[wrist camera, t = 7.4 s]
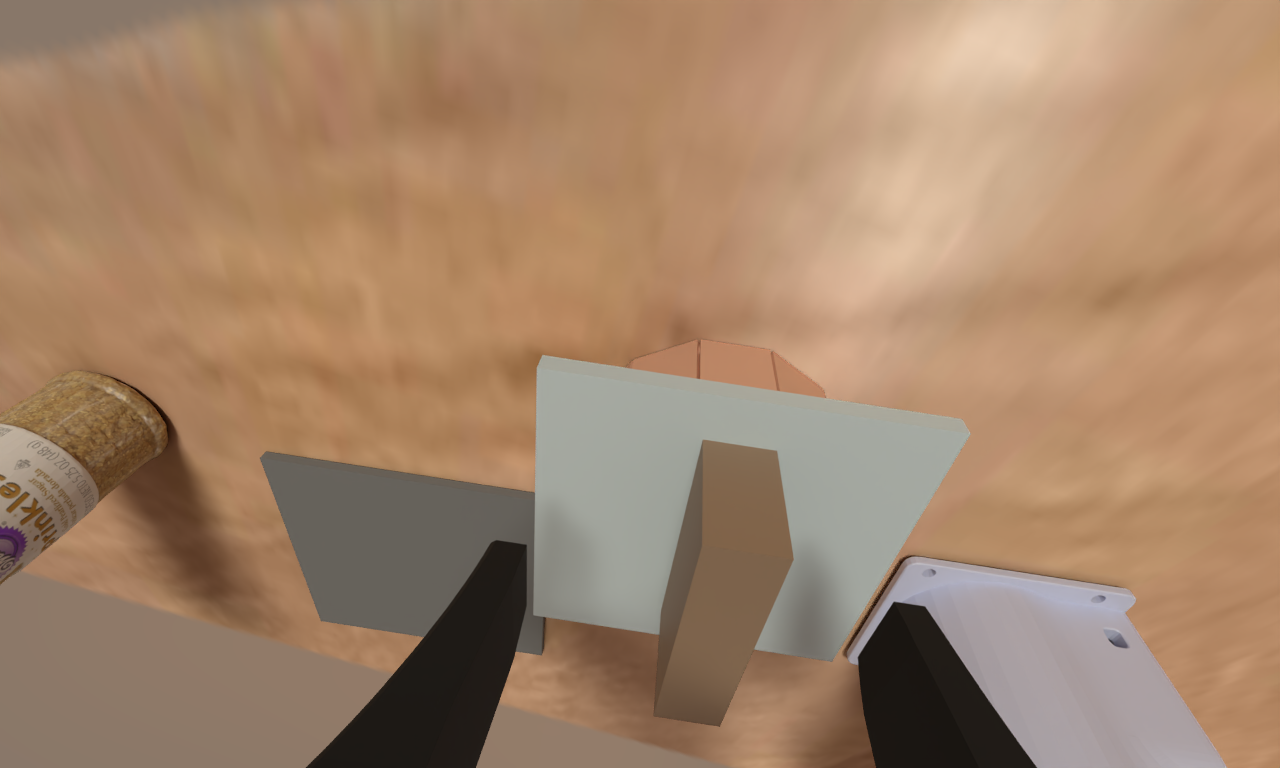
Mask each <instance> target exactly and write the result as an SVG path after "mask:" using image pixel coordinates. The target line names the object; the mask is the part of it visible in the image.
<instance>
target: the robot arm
mask: <svg viewBox="0 0 1280 768" xmlns="http://www.w3.org/2000/svg"><path fill="white" fill-rule="evenodd" d="M1135 602H1136V598H1135V596H1134V595H1133V594H1132V592H1131V591H1130V590H1128V589H1125V588H1120V587H1113V586H1107V585H1100V584H1094V583H1087V582H1081V581H1074V580H1068V579H1061V578H1055V577H1048V576H1042V575H1035V574H1029V573H1022V572H1016V571H1009V570H1003V569H996V568H990V567H983V566H977V565H970V564H964V563H957V562H951V561H944V560H938V559H931V558H925V557H917V556H914V557H909V558H907V559H906V560H905V561H904V562H903V563H902V564H901V566H900V568H899V569H898V571H897V572H896V574H895V576H894V577H893V579H892V580H891V582H890V584H889V585H888V587H887V588H886V590H885V592H884V593H883V595H882V596H881V598H880V600H879V601H878V603H877V604H876V606H875V608H874V609H873V611H872V612H871V614H870V616H869V617H868V619H867V620H866V622H865V624H864V625H863V627H862V628H861V630H860V631H859V633H858V635H857V636H856V638H855V639H854V641H853V643H852V644H851V646H850V647H849V649H848V651H847V658H848V661H849V662H850V663H852V664H855V665H858V666H859V676H860V686H861V694H862V702H863V710H864V716H865V721H866V725H867V730H868V734H869V738H870V743H871V747H872V752H873V756H874V760H875V765H876V768H1227V767H1226V765H1225V763H1224V762H1223V760H1222V758H1221V757H1220V755H1219V753H1218V752H1217V750H1216V749H1215V747H1214V746H1213V744H1212V743H1211V741H1210V740H1209V738H1208V737H1207V735H1206V734H1205V732H1204V731H1203V729H1202V728H1201V726H1200V725H1199V723H1198V722H1197V720H1196V719H1195V717H1194V716H1193V714H1192V713H1191V711H1190V710H1189V708H1188V707H1187V705H1186V704H1185V702H1184V701H1183V699H1182V698H1181V696H1180V695H1179V693H1178V692H1177V690H1176V689H1175V687H1174V686H1173V684H1172V683H1171V681H1170V680H1169V678H1168V677H1167V675H1166V674H1165V672H1164V671H1163V669H1162V668H1161V666H1160V665H1159V663H1158V662H1157V660H1156V659H1155V657H1154V656H1153V654H1152V653H1151V651H1150V650H1149V648H1148V647H1147V645H1146V644H1145V642H1144V641H1143V639H1142V638H1141V636H1140V635H1139V633H1138V632H1137V630H1136V629H1135V627H1134V626H1133V624H1132V623H1131V621H1130V620H1129V618H1128V617H1127V615H1126V614H1125V612H1126V611H1127V610H1128V609H1129V608H1131V607H1132V606H1133V605H1134V603H1135ZM526 607H527V545H525V544H519V543H513V542H506V541H500V540H495V541H493V542H491V543H490V545H489V546H488V548H487V550H486V551H485V553H484V555H483V556H482V558H481V559H480V561H479V563H478V564H477V566H476V567H475V569H474V570H473V572H472V573H471V575H470V576H469V578H468V579H467V581H466V582H465V583H464V585H463V586H462V588H461V589H460V590H459V592H458V593H457V595H456V596H455V597H454V599H453V600H452V602H451V603H450V604H449V606H448V607H447V608H446V610H445V611H444V612H443V614H442V615H441V616H440V617H439V619H438V620H437V621H436V623H435V624H434V625H433V626H432V628H431V629H430V630H429V632H428V633H427V634H426V636H425V637H424V638H423V639H422V641H421V642H420V643H419V644H418V646H417V647H416V648H415V649H414V651H413V652H412V653H411V654H410V655H409V656H408V658H407V659H406V660H405V661H404V662H403V664H402V665H401V666H400V667H399V668H398V669H397V671H396V672H395V673H394V674H393V675H392V676H391V678H390V679H389V680H388V681H387V682H386V683H385V685H384V686H383V687H382V688H381V689H380V690H379V692H378V693H377V694H376V695H375V696H374V697H373V699H372V700H371V701H370V702H369V703H368V704H367V705H366V706H365V707H364V708H363V709H362V710H361V711H360V713H359V714H358V715H357V716H356V717H355V718H354V719H353V720H352V721H351V722H350V723H349V724H348V726H346V727H345V729H344V730H343V731H342V732H341V733H340V734H339V735H338V736H337V737H336V738H335V739H334V740H333V741H332V742H331V743H330V744H329V745H328V746H327V747H326V748H325V749H324V750H323V751H322V752H321V753H320V754H319V755H318V756H317V757H316V758H315V759H314V760H313V761H312V762H311V763H310V764H309V765H308V766H307V767H306V768H476V766H477V762H478V760H479V757H480V754H481V751H482V748H483V746H484V743H485V740H486V737H487V734H488V731H489V728H490V725H491V723H492V720H493V717H494V714H495V711H496V708H497V706H498V703H499V700H500V697H501V694H502V691H503V688H504V686H505V683H506V680H507V677H508V674H509V671H510V668H511V665H512V662H513V659H514V656H515V652H516V648H517V644H518V640H519V636H520V632H521V627H522V623H523V619H524V615H525V611H526Z"/></svg>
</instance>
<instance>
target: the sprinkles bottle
mask: <svg viewBox="0 0 1280 768" xmlns="http://www.w3.org/2000/svg"><path fill="white" fill-rule="evenodd" d="M167 442H168V436H167V431H166V424H165V422H164V421H163V420H162V417H161V416H160V414H159V413H158V411H157V410H156V409H155V408H154V406H153V405H152V404H151V403H150V402H149V401H148V400H147V399H145V398H144V397H143V396H141V395H140V394H139V393H138V392H137V391H135V390H134V389H132V388H131V387H129V386H127V385H125V384H123V383H121V382H119V381H116V380H115V379H113V378H110V377H107V376H104V375H101V374H96V373H91V372H85V371H72V372H68V373H62V374H60V375H58V376H56V377H54V378H53V379H51V380H50V381H49V382H47V384H46V386H45V387H44V388H42V389H41V390H39V391H38V392H36V393H35V394H33V395H31V396H30V397H28V398H27V399H25V400H23V401H21V402H20V403H18V404H17V405H15V406H13V407H11V408H10V409H8V410H7V411H5V412H3V413H2V414H0V584H2V583H3V582H4V581H5V580H6V579H7V578H9V577H11V576H12V575H14V574H16V573H18V572H19V571H21V570H22V569H23V568H24V567H25V566H27V565H28V564H29V563H30V562H32V561H33V560H34V559H35V558H36V557H38V556H39V555H40V554H41V553H42V552H43V551H45V550H46V549H47V548H48V547H49V546H50V545H52V544H53V543H54V542H56V541H57V540H58V539H59V538H60V537H61V536H63V535H64V534H65V533H66V532H67V531H68V530H70V529H71V528H72V527H73V526H74V525H76V524H77V523H78V522H79V521H80V520H81V519H83V518H84V517H85V516H86V515H87V514H88V513H89V512H91V511H92V510H93V509H94V508H95V507H96V505H97V504H98V503H99V502H100V501H101V500H102V499H103V498H104V497H105V496H106V495H107V494H108V493H110V492H111V491H112V490H113V489H115V488H116V487H117V486H119V485H120V484H121V483H122V482H123V481H124V480H125V479H127V478H128V477H129V476H130V475H132V474H133V473H134V472H135V471H136V470H137V469H138V468H140V467H141V466H142V465H143V464H144V463H146V462H147V461H149V460H151V459H153V458H156V457H157V456H159V455H160V454H161V453H162V452H163V450H164V449H165V447H166V445H167Z"/></svg>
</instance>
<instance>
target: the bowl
mask: <svg viewBox="0 0 1280 768" xmlns="http://www.w3.org/2000/svg"><path fill="white" fill-rule="evenodd" d="M625 368H630V369H637V370H643V371H650V372H656V373H663V374H670V375H676V376H683V377H689V378H696V379H702V380H709V381H716V382H722V383H729V384H735V385H742V386H748V387H755V388H762V389H768V390H775V391H781V392H788V393H794V394H801V395H808V396H814V397H821V398H826V396H825V393H824V390H823V389H822V388H821V387H820V386H819V385H817V384H816V383H815V382H813V381H812V380H811V379H809V378H808V377H807V376H805V375H804V374H803V373H801V372H800V371H799V370H797V369H796V368H795V367H793V366H792V365H791V364H789V363H788V362H787V361H785V360H784V359H783V358H781V357H780V356H779V355H777V354H776V353H775V352H773V351H772V352H771V353H770V350H768V349H761V348H755V347H748V346H742V345H735V344H728V343H722V342H715V341H709V340H702V339H701V340H700V343H699V342H698V340H694V341H691V342H688V343H685V344H682V345H678V346H675V347H672V348H669V349H666V350H662V351H659V352H656V353H653V354H650V355H646V356H643V357H640V358H637V359H634V361H633V362H632V361H631V362H630V363H629V364H628V365H627V366H626V367H625Z"/></svg>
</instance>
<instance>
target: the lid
mask: <svg viewBox="0 0 1280 768" xmlns="http://www.w3.org/2000/svg"><path fill="white" fill-rule="evenodd" d="M969 436H970V432H969V430H968V429H967V427H966V425H965V423H964V422H963V420H962V419H959V418H952V417H946V416H939V415H932V414H926V413H919V412H913V411H906V410H900V409H893V408H886V407H880V406H873V405H867V404H860V403H854V402H847V401H840V400H834V399H827V398H821V397H814V396H808V395H801V394H794V393H788V392H781V391H775V390H768V389H762V388H755V387H748V386H742V385H735V384H729V383H722V382H716V381H709V380H702V379H696V378H689V377H683V376H676V375H670V374H663V373H656V372H650V371H643V370H637V369H630V368H624V367H617V366H610V365H604V364H597V363H591V362H584V361H578V360H571V359H565V358H558V357H551V356H545V355H542V358H541V360H540V362H539V364H538V367H537V399H536V467H535V534H534V602H533V615H535V616H541V617H548V618H554V619H561V620H567V621H573V622H580V623H586V624H593V625H599V626H606V627H612V628H618V629H625V630H631V631H638V632H644V633H651V634H657V635H659V645H658V660H657V674H656V688H655V702H654V716H655V717H662V718H668V719H674V720H681V721H687V722H694V723H700V724H706V725H713V726H719V727H720V725H721V723H722V720H723V718H724V716H725V714H726V711H727V709H728V707H729V705H730V702H731V700H732V698H733V696H734V693H735V691H736V689H737V687H738V684H739V682H740V680H741V678H742V675H743V673H744V671H745V669H746V666H747V664H748V662H749V659H750V657H751V655H752V653H753V650H760V651H766V652H773V653H779V654H785V655H792V656H798V657H805V658H811V659H818V660H824V661H830V662H832V661H833V659H834V658H835V656H836V654H837V653H838V651H839V649H840V648H841V646H842V644H843V643H844V641H845V640H846V638H847V636H848V635H849V633H850V631H851V630H852V628H853V626H854V625H855V623H856V621H857V620H858V618H859V617H860V615H861V613H862V612H863V610H864V608H865V607H866V605H867V603H868V602H869V600H870V599H871V597H872V595H873V594H874V592H875V590H876V589H877V587H878V585H879V584H880V582H881V580H882V579H883V577H884V576H885V574H886V572H887V571H888V569H889V567H890V566H891V564H892V562H893V561H894V559H895V557H896V556H897V554H898V553H899V551H900V549H901V548H902V546H903V544H904V543H905V541H906V539H907V538H908V536H909V534H910V533H911V531H912V530H913V528H914V526H915V525H916V523H917V521H918V520H919V518H920V516H921V515H922V513H923V511H924V510H925V508H926V507H927V505H928V503H929V502H930V500H931V498H932V497H933V495H934V493H935V492H936V490H937V488H938V487H939V485H940V484H941V482H942V480H943V479H944V477H945V475H946V474H947V472H948V470H949V469H950V467H951V465H952V464H953V462H954V461H955V459H956V457H957V456H958V454H959V452H960V451H961V449H962V447H963V446H964V444H965V442H966V441H967V439H968V438H969Z"/></svg>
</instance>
